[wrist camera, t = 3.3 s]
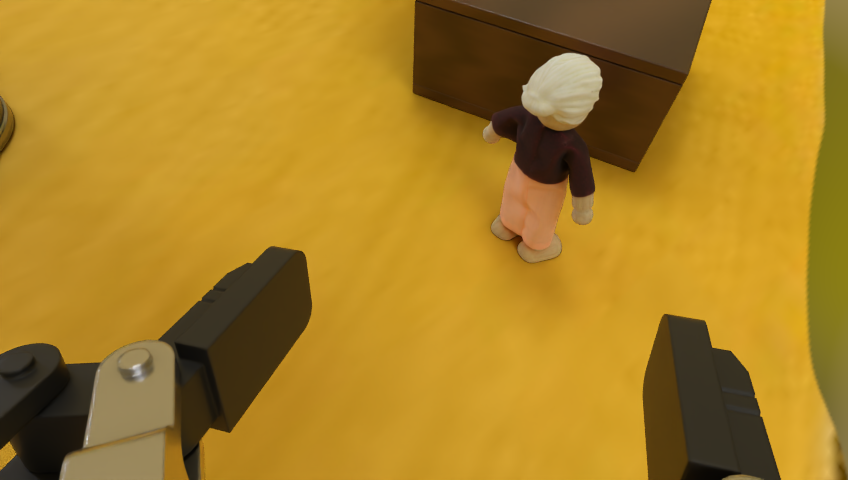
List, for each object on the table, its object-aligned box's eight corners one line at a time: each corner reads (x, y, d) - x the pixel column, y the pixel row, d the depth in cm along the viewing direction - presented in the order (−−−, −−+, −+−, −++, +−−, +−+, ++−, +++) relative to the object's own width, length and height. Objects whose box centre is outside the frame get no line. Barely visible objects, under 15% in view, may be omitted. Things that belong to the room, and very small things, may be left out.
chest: (412, 92, 40) (414, 1, 34) (482, -2, 47) (495, -92, 41) (634, 172, 37) (682, 86, 31) (674, 57, 44) (719, -32, 38)
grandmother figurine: (588, 244, 33) (675, 77, 23) (555, 286, 32) (633, 127, 21) (486, 180, 36) (523, 4, 25) (451, 216, 34) (474, 42, 24)
